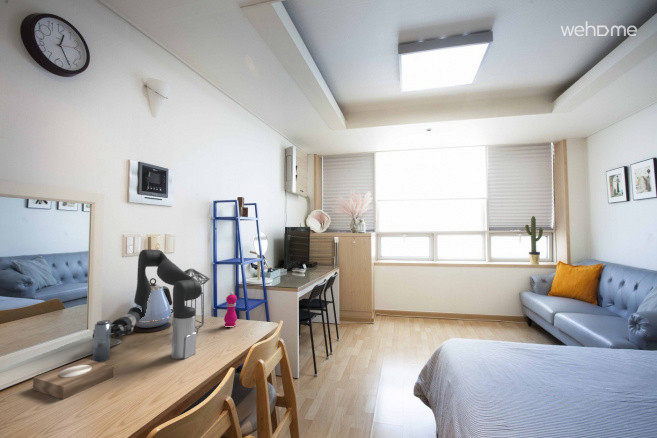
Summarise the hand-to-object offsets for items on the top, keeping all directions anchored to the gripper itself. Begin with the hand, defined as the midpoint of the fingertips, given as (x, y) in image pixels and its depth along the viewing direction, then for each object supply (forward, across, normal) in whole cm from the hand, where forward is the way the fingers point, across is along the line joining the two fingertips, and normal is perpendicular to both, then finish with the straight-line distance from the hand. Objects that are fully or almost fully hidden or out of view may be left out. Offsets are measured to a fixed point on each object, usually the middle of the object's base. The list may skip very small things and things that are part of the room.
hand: (105, 336), depth 126 cm
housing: (+2, 0, +9) cm, 9 cm away
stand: (+22, +2, +9) cm, 23 cm away
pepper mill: (-36, +47, +9) cm, 60 cm away
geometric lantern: (-26, +27, +9) cm, 39 cm away
